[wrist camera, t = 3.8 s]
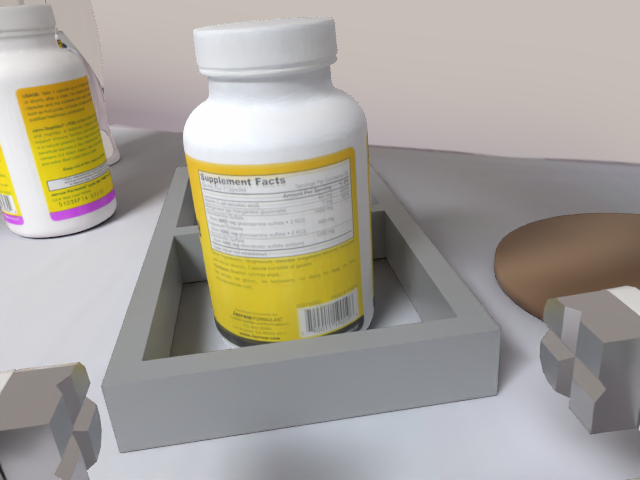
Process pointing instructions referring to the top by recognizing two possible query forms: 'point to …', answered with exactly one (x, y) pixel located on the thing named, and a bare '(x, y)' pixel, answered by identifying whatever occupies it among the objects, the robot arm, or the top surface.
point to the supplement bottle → (47, 132)
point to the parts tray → (293, 345)
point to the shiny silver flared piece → (81, 53)
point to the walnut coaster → (568, 258)
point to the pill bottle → (280, 184)
